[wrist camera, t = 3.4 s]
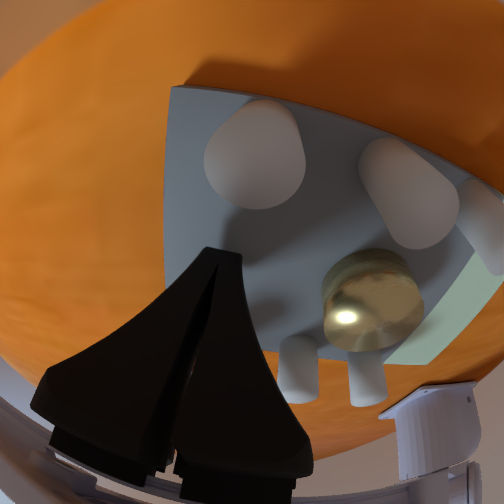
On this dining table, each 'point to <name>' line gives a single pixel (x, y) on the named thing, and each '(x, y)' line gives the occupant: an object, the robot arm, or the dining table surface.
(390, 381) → the dining table surface
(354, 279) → the brass metal puck
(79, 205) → the dining table surface
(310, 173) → the board
